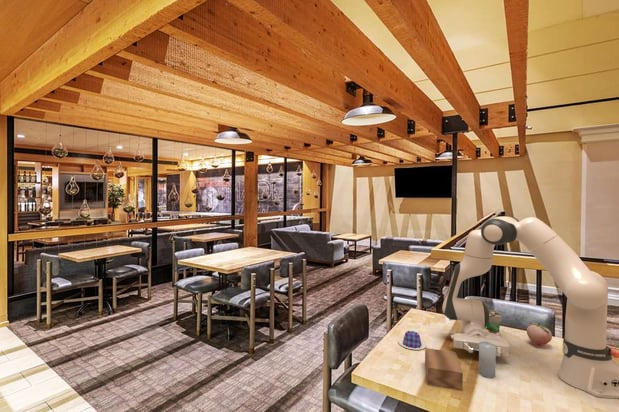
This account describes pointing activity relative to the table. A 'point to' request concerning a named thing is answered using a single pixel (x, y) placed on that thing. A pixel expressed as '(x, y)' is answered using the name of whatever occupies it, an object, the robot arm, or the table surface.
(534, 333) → the decorative fruit
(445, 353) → the walnut block
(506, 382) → the table surface
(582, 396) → the table surface
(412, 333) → the pudding
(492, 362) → the metal cylinder
